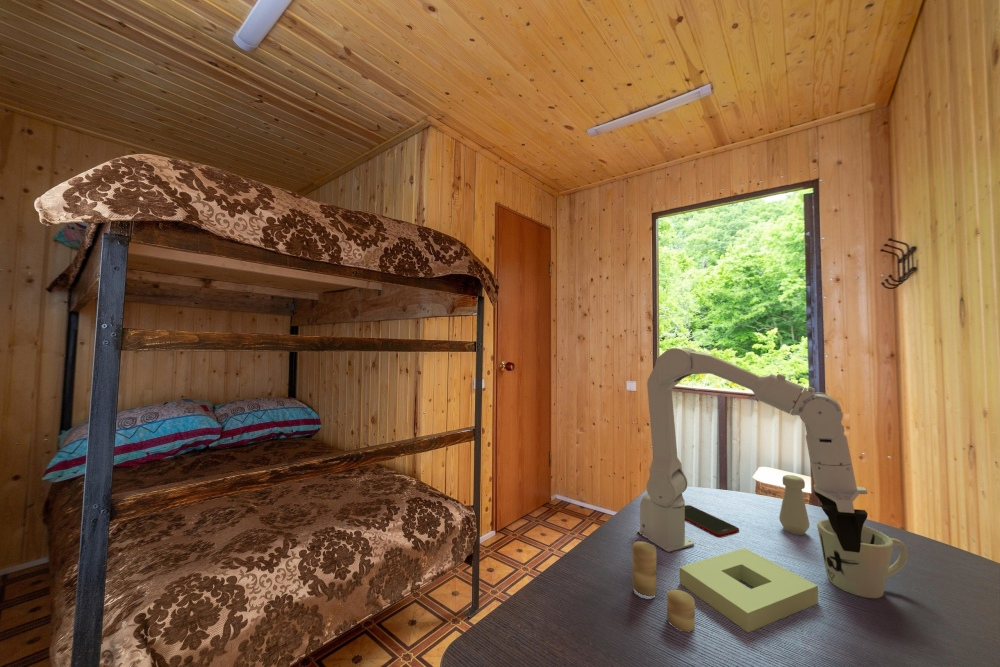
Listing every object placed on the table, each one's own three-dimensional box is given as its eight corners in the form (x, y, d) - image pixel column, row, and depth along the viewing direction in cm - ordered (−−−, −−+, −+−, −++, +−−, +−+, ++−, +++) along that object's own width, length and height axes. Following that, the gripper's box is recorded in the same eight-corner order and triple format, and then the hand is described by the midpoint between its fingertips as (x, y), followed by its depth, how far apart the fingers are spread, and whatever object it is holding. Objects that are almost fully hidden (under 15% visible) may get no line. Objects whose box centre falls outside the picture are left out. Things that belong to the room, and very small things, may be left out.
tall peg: (627, 588, 69) (627, 544, 69) (644, 583, 71) (644, 539, 71) (643, 602, 66) (643, 555, 66) (661, 596, 67) (661, 550, 67)
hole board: (679, 583, 71) (679, 567, 71) (744, 562, 78) (744, 547, 78) (748, 632, 59) (747, 613, 59) (818, 603, 66) (817, 585, 66)
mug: (804, 568, 76) (803, 517, 76) (880, 570, 75) (879, 519, 76) (850, 604, 65) (849, 545, 66) (939, 606, 65) (938, 547, 65)
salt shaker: (815, 538, 87) (814, 482, 88) (787, 535, 89) (786, 480, 89) (800, 526, 93) (800, 473, 93) (774, 524, 94) (774, 471, 95)
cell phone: (688, 508, 104) (688, 504, 104) (741, 532, 91) (741, 528, 91) (668, 512, 101) (668, 509, 101) (719, 539, 88) (719, 535, 88)
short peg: (661, 617, 62) (661, 593, 62) (679, 611, 63) (679, 587, 64) (681, 635, 58) (681, 609, 58) (700, 628, 60) (700, 602, 60)
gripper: (871, 473, 60) (890, 564, 58) (850, 453, 72) (865, 528, 70) (814, 471, 63) (831, 556, 62) (803, 452, 76) (817, 523, 74)
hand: (846, 541), depth 66 cm, fingers open, 7 cm apart
